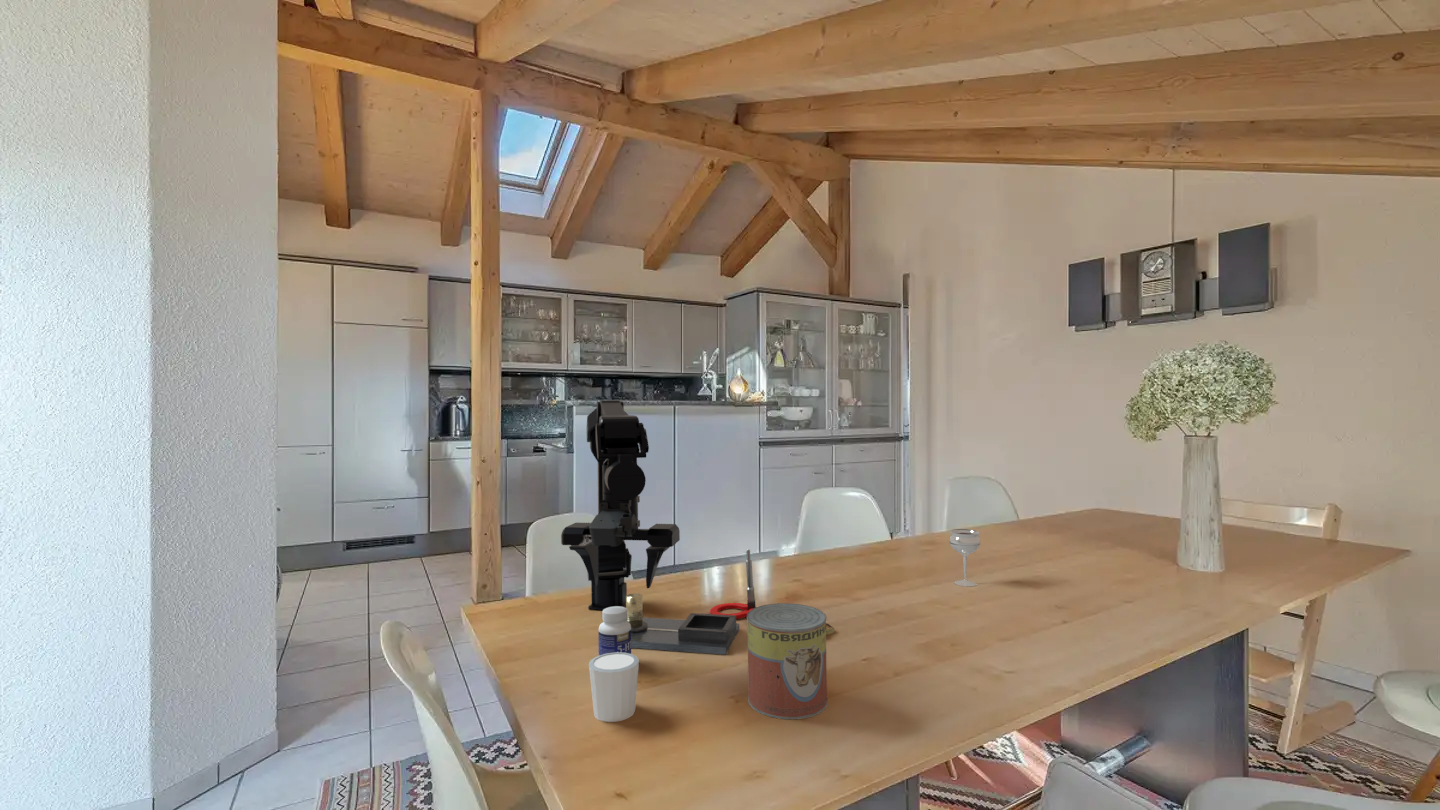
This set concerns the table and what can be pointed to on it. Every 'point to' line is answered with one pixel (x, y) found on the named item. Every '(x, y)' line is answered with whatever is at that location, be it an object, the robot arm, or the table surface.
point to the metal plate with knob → (680, 631)
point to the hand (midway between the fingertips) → (621, 586)
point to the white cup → (614, 685)
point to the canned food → (787, 660)
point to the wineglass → (964, 548)
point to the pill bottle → (614, 631)
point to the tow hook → (750, 596)
